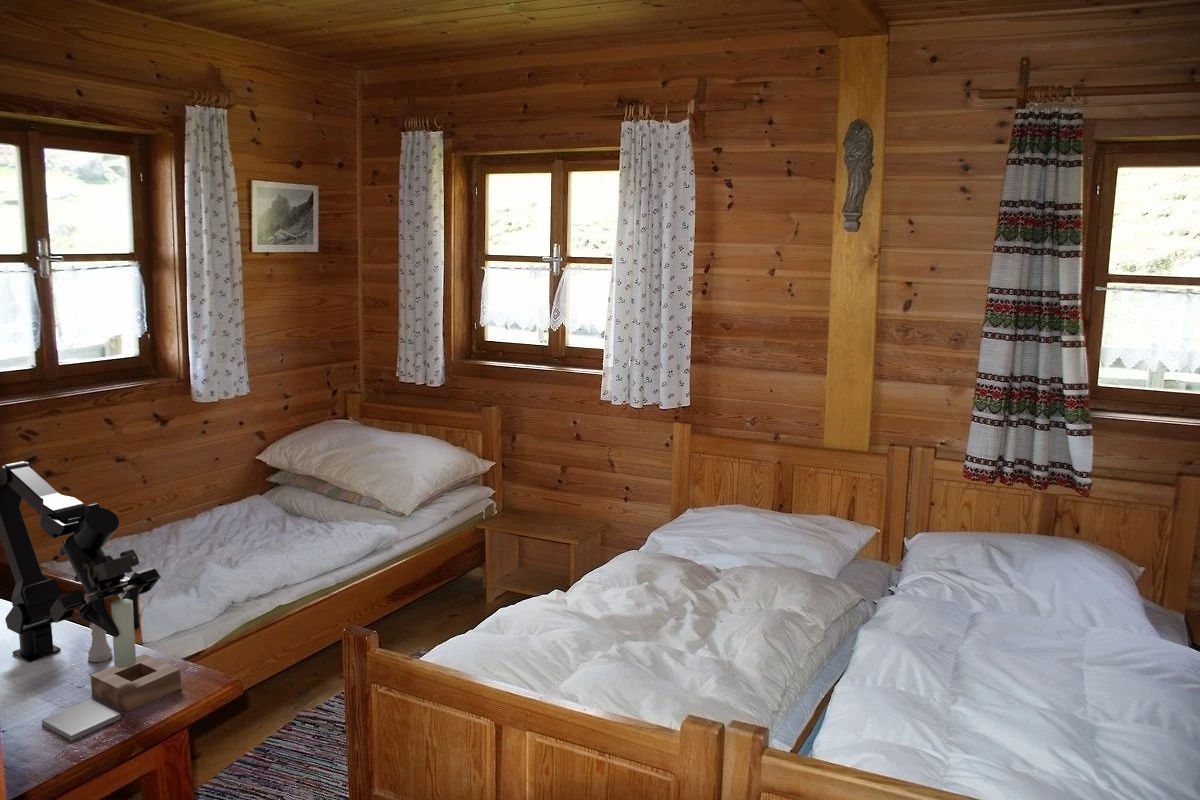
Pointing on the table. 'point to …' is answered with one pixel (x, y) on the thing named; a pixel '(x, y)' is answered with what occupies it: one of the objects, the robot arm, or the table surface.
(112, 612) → the sage peg
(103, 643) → the rook chess piece
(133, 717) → the table surface
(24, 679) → the table surface
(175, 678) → the walnut pocket block
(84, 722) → the slate tile
